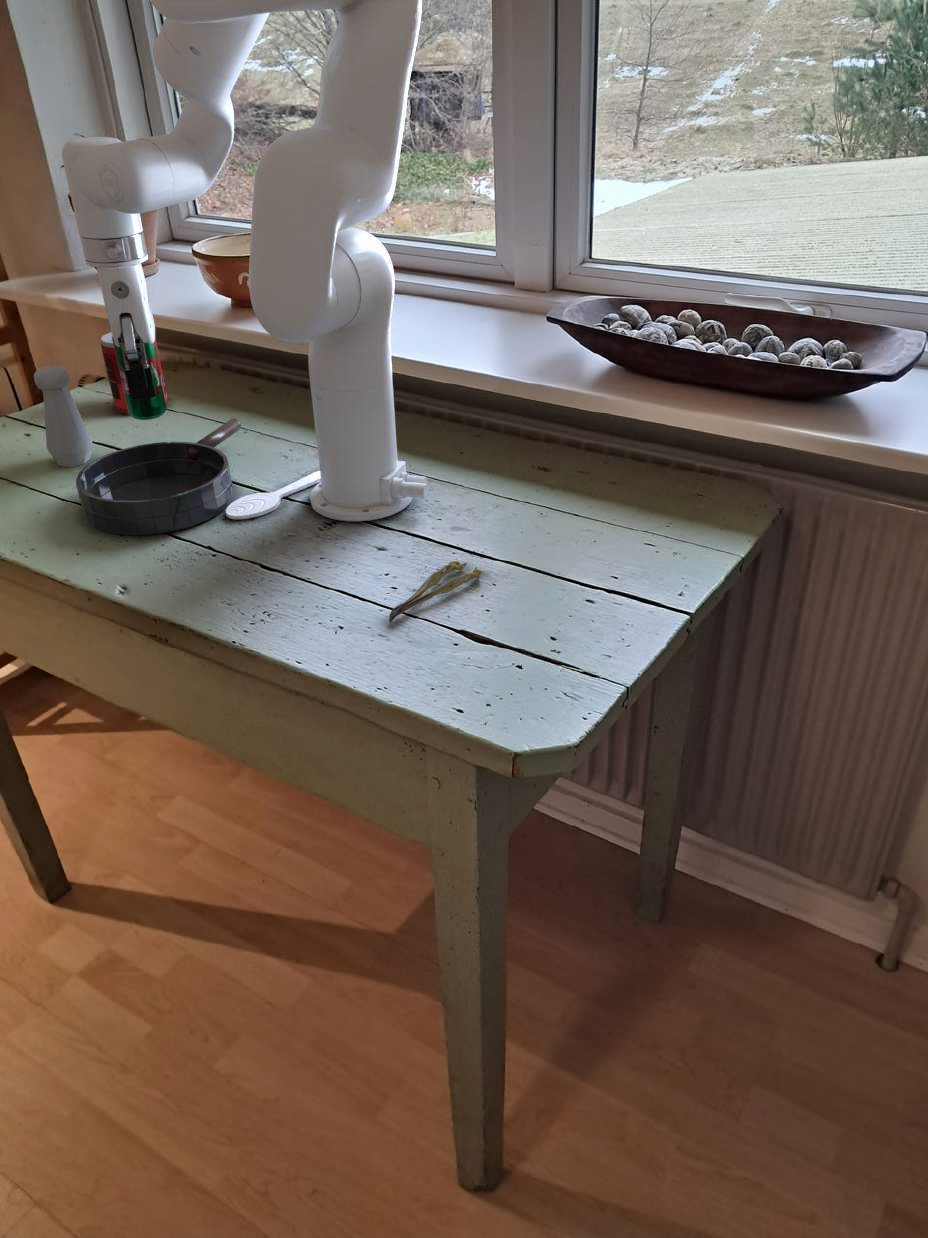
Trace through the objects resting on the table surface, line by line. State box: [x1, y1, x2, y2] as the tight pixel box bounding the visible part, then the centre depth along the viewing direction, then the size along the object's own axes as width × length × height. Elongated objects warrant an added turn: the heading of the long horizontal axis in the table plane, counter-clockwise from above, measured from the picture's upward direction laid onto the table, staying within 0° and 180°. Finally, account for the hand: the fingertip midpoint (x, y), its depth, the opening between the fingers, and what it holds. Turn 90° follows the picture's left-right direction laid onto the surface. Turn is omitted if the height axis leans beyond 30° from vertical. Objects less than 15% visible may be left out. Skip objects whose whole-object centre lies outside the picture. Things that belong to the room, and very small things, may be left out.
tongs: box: [388, 560, 484, 624], centre depth 99 cm, size 4×13×2 cm, turn 145°
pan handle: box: [187, 418, 242, 460], centre depth 129 cm, size 2×12×2 cm, turn 161°
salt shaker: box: [33, 365, 93, 468], centre depth 129 cm, size 6×6×13 cm
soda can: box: [112, 322, 168, 421], centre depth 128 cm, size 5×5×12 cm
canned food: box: [99, 331, 168, 415], centre depth 147 cm, size 8×8×11 cm
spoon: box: [225, 469, 321, 520], centre depth 122 cm, size 5×18×1 cm, turn 139°
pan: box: [75, 441, 234, 536], centre depth 119 cm, size 18×18×4 cm
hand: (143, 388), depth 129 cm, fingers closed on soda can, 5 cm apart
